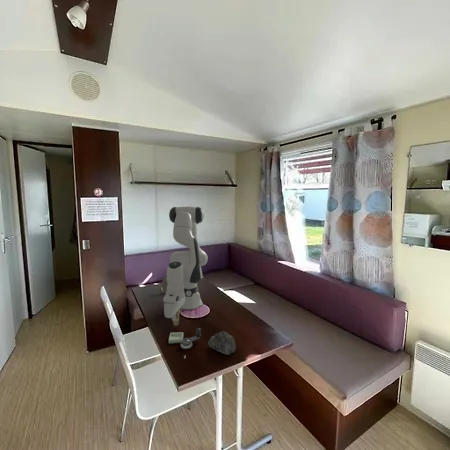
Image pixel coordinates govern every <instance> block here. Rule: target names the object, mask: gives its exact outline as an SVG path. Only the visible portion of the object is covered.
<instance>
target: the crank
mask: <svg viewBox="0 0 450 450" xmlns="http://www.w3.org/2000/svg"><path fill="white" fill-rule="evenodd" d="M201 332H202V329H201V327H196V329H195V333H196V334H195V336H192V337H183V340H182V344H183V345H184V346H187V345H190V344H191V342H194V341H197V340H200V338H201V336H202V333H201Z"/></svg>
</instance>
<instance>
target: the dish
mask: <svg viewBox="0 0 450 450" xmlns="http://www.w3.org/2000/svg"><path fill="white" fill-rule="evenodd" d="M183 339H184V332H181V331H180V332H170V333H169V337H168V344H181V342H182V340H183Z"/></svg>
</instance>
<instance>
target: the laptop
mask: <svg viewBox="0 0 450 450" xmlns="http://www.w3.org/2000/svg"><path fill="white" fill-rule="evenodd" d="M167 285H168V283H167V276H165V277H162V278H161V286H162V287H160V290H161V293H162V294H166V292H167Z"/></svg>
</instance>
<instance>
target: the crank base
mask: <svg viewBox="0 0 450 450" xmlns="http://www.w3.org/2000/svg"><path fill="white" fill-rule="evenodd" d="M192 347H193V341H191V344H190V345H187V346H184V345H183V344H182V342H181V343H180V348H182V349H183V350H188V349H191V348H192ZM186 356H187V355H183V359H186V358H187V357H186Z"/></svg>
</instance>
